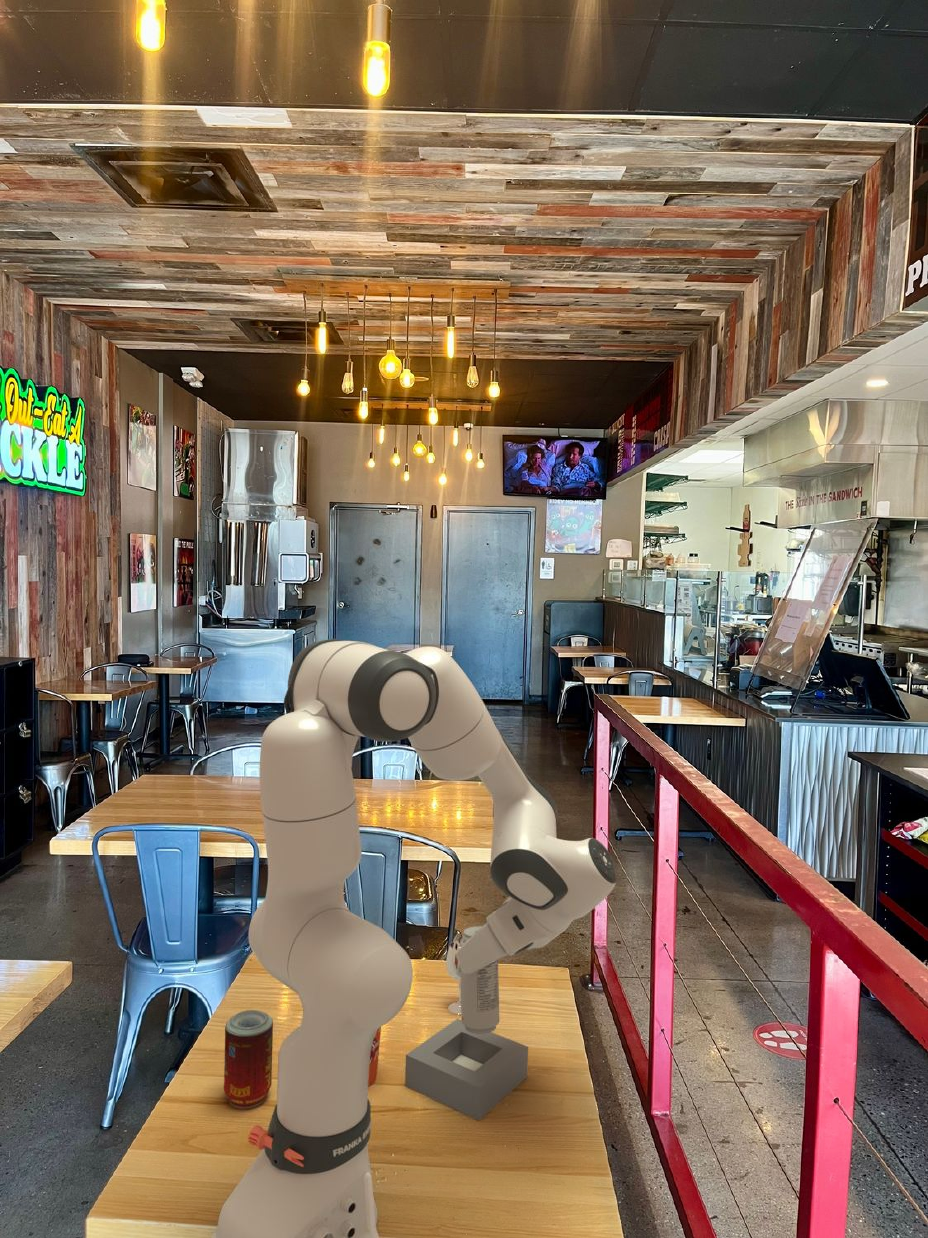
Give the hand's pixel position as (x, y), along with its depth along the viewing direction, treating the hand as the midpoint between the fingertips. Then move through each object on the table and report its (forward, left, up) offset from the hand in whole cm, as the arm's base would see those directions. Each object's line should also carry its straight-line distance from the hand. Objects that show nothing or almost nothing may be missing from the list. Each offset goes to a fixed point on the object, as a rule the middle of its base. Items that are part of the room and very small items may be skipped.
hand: (476, 960), depth 134 cm
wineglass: (+17, +14, -20) cm, 30 cm away
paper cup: (-11, +14, -20) cm, 27 cm away
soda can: (-25, +24, -20) cm, 40 cm away
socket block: (-1, 0, -19) cm, 19 cm away
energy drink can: (0, -1, -10) cm, 10 cm away
